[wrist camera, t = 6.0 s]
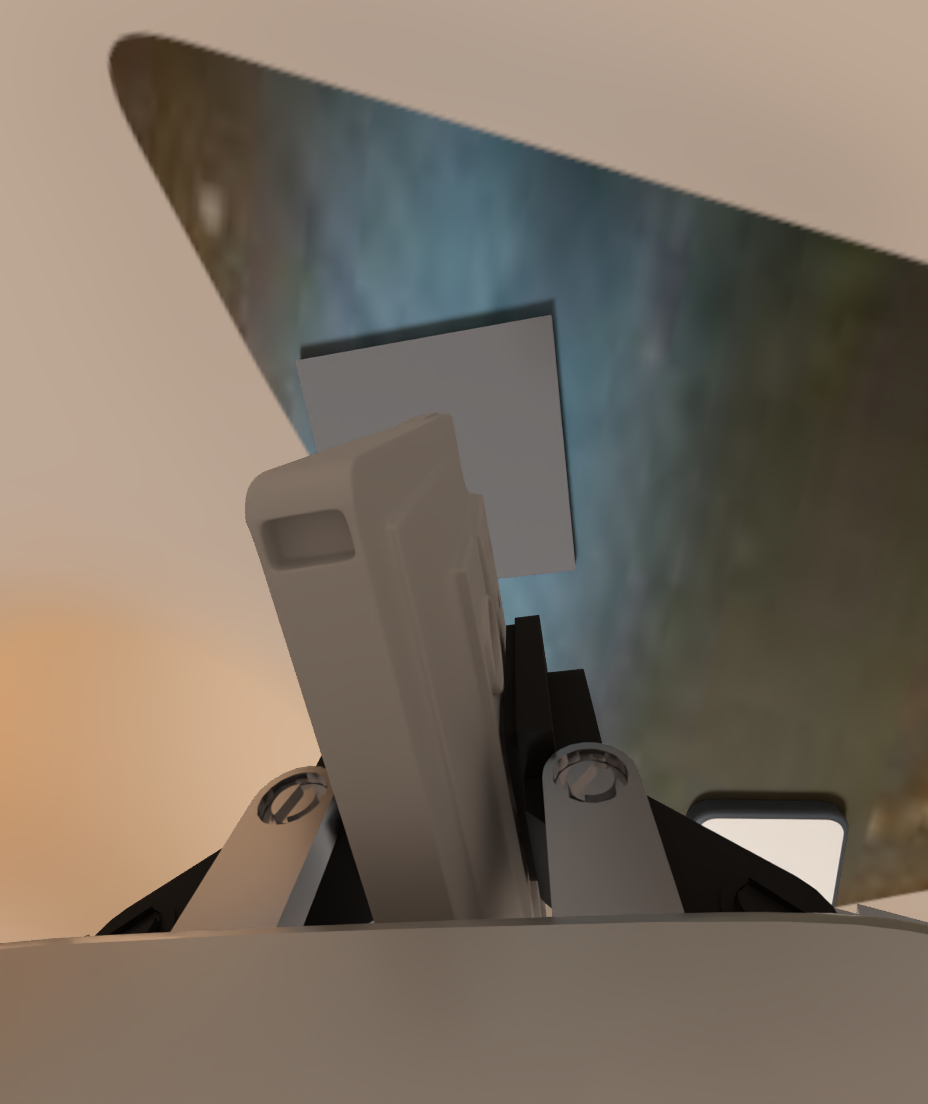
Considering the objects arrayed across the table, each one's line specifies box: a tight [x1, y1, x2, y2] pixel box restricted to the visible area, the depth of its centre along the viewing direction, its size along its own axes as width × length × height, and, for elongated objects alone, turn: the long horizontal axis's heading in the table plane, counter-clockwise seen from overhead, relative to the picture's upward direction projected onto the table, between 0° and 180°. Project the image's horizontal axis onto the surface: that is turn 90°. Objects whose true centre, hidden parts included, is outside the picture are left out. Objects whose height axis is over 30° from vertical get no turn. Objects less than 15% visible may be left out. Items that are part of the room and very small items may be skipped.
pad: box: [295, 315, 576, 579], centre depth 25 cm, size 12×12×1 cm
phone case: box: [686, 800, 849, 908], centre depth 32 cm, size 9×2×16 cm
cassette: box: [245, 412, 546, 923], centre depth 9 cm, size 12×2×8 cm, turn 10°
